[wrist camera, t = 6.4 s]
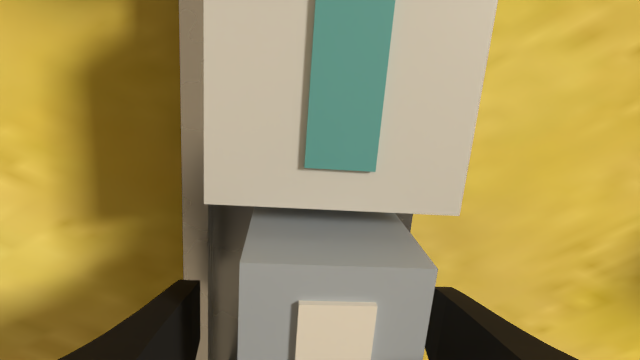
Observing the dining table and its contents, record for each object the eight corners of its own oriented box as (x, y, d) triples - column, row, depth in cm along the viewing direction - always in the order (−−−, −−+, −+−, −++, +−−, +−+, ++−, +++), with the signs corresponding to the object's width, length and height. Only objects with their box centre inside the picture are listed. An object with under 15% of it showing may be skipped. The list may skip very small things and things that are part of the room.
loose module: (358, 333, 15) (402, 497, 9) (255, 331, 15) (233, 501, 9) (375, 187, 14) (440, 272, 8) (261, 181, 13) (238, 266, 7)
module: (405, 170, 14) (462, 218, 9) (232, 161, 13) (202, 206, 9) (430, -16, 12) (514, -69, 8) (235, -36, 11) (201, -106, 7)
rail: (367, 466, 19) (376, 516, 17) (197, 469, 18) (185, 522, 16) (436, -39, 13) (465, -60, 11) (193, -66, 12) (173, -94, 10)
